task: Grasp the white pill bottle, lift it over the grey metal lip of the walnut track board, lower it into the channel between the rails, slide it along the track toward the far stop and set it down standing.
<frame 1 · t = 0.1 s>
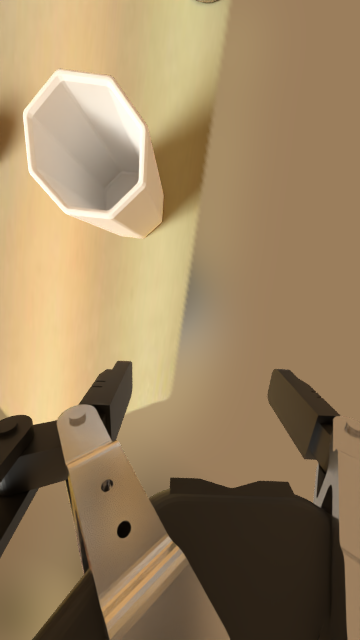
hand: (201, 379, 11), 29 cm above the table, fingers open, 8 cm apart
cup: (133, 205, 35), on the table
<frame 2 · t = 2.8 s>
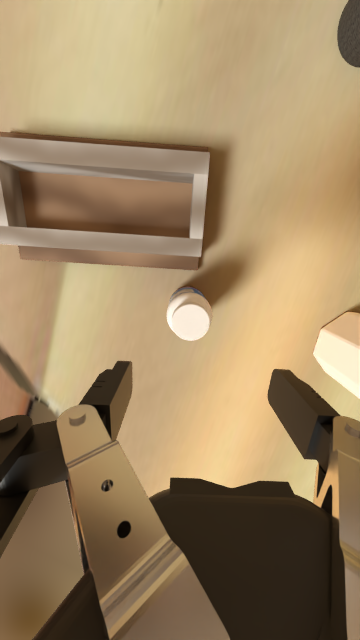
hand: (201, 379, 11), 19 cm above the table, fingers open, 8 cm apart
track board: (110, 209, 26), on the table
cup: (346, 343, 32), on the table
pill bottle: (187, 303, 30), on the table
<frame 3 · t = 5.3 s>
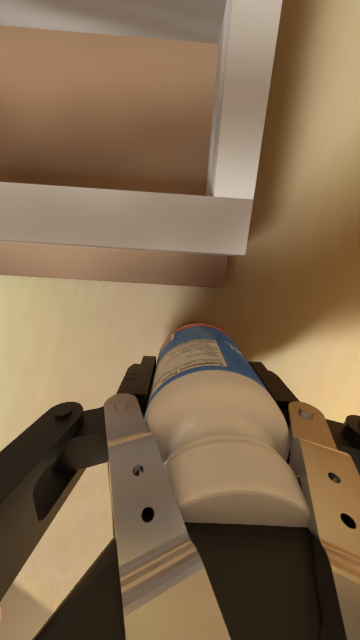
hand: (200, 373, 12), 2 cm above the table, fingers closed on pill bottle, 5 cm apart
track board: (1, 133, 10), on the table
pill bottle: (197, 356, 14), on the table, touching gripper
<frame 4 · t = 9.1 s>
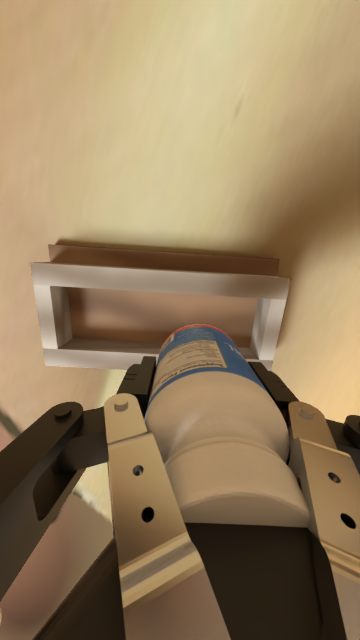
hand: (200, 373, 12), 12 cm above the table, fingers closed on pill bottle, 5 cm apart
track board: (163, 314, 24), on the table
pill bottle: (197, 356, 14), point 10 cm above the table, touching gripper
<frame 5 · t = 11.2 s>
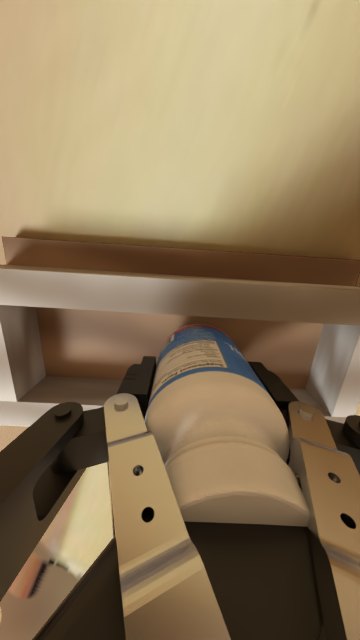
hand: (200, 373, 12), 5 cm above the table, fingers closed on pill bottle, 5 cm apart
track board: (179, 340, 16), on the table
pill bottle: (197, 356, 14), point 2 cm above the table, touching gripper
when the fingers open (4 cm above the table, at t = 12.9 s): pill bottle drops 1 cm, resting on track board.
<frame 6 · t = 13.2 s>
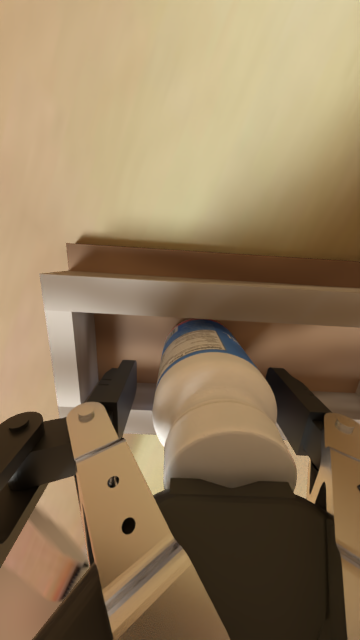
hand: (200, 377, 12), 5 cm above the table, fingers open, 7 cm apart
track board: (231, 345, 16), on the table
pill bottle: (198, 347, 15), point 1 cm above the table, touching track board
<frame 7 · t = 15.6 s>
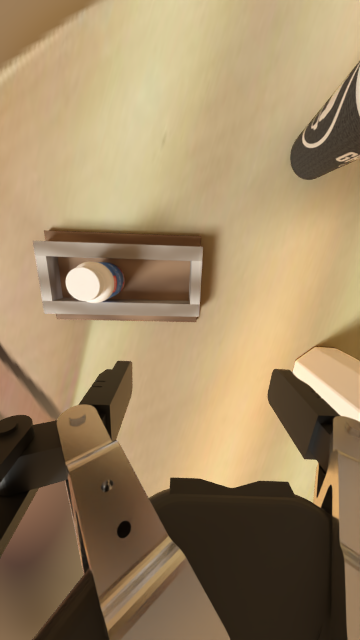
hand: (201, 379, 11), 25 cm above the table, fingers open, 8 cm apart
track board: (127, 279, 34), on the table
coffee cup: (311, 155, 30), on the table
cup: (317, 370, 40), on the table
pill bottle: (109, 279, 33), point 1 cm above the table, touching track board
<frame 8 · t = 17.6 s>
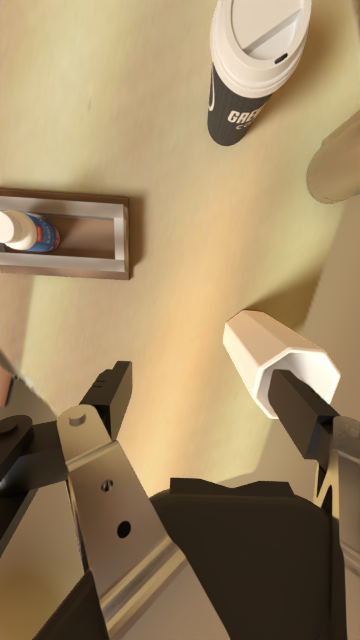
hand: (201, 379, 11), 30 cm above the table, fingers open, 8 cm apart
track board: (64, 237, 37), on the table
coffee cup: (227, 122, 32), on the table
cup: (247, 333, 43), on the table
pill bottle: (46, 236, 36), point 1 cm above the table, touching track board
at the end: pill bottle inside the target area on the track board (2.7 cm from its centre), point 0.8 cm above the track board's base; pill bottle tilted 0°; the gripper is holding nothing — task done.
